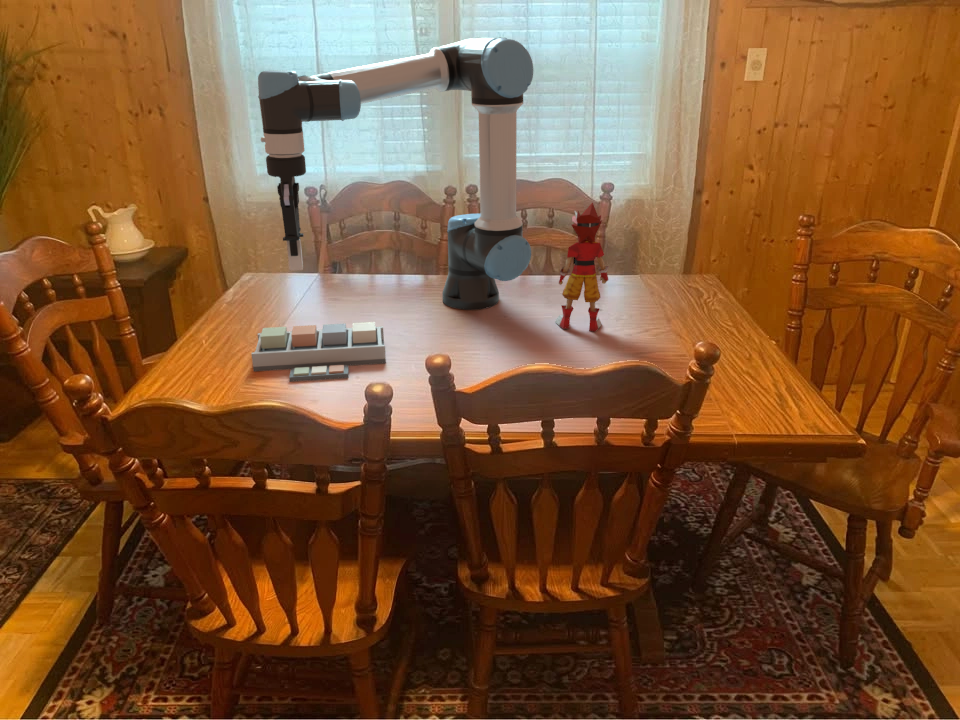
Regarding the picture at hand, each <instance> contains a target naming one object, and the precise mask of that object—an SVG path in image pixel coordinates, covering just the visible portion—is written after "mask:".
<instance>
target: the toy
mask: <svg viewBox="0 0 960 720" xmlns="http://www.w3.org/2000/svg"><path fill="white" fill-rule="evenodd" d="M573 211H574V214H575V215H572V218H571V222H572V224H571V227H572V228H573V230H574V232H575V234H576V235H577V242H574V243H573V244H571V245H570V246H568V249H567V255H566V257H567V258H566V260H565V264H564V265H563V266H562V267H561V269H560V271H559V273H560V276H559V280H558V285H560V286H562V284H563V281H564V279H565V277H566V276H567V275H568V274H569V273H570V275H569V276H568V279H567V281H566V284H565V287H564V288H563V291H562V294H561V295H562V296H563V297H564V299H566V303H565V304H566V305H561V310H562V314H559V315H558V316H557V318H556V319H555V320H554V322H555V323H556V324H557V325H558V326H559V327H560V328H561V329H563V330H567V329H568V330H569V329H570V323H571V315H572V313H573V312H574V307H573V305H572V304H573V301H578V300H579V298H580V296H581V293H582V289H583V286H584V290H583V297H584V302H585V303H589V307H588V310H587V311H588V315H589V326H588V327H589V328H588V331H589V332H594V333H596V332H597V331H598V330H599V328H600V327H601V326H602V325H603V323H602V322H601V320H600V318H599V317H598V314H599V312H600V308H599V307H598V308H597V307H596V302H598V301H599V300H600V299H601V293H600V289H599V284H598V283H599V282H598V277H597V272H596V264H595V259H596V260H597V263H598V265H599V266H598V267H597V270H598V272H599V273H600V277H599V281H601V284H606V283H607V282H608V281H609V276H608V271H609V267H610V266H609V265H605V261H604V259H603V257H604V256H605V253H604V250H603V248H602V247H603V246H602V245H601V243H600V242H597V241H596V235H597V233H598V231H599V229H600V227H601V224H602V222H603V219H602V214H600V215H598V213H597V210H596V208H595V205H594V202H591V203H590V204H589V206H588V207H587V208H586V209H585V210H584V211H583V213H582V214H580V212H579V210H577V211H576V210H573ZM601 219H602V220H601ZM572 261H573V265H574V266H573V268H572V271H571V270H570V268H571V265H572Z"/></svg>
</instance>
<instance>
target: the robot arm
mask: <svg viewBox="0 0 960 720" xmlns="http://www.w3.org/2000/svg"><path fill="white" fill-rule="evenodd" d="M532 59H533V58H532V57H531V55H530V52H529V51H528V50H527V48H526V47H525V46H524V45H523V44H522V43H521V42H519V41H517V40H515V39H511V38H507V37H502V36H501V37H480V36H479V37H478V36H477V37H469V38H465V39H463V40H460V41H456V42H453V43H449V44H445V45H440V46H435V47H432V48H431V49H430V50H429V52H428V53H425V54H420V55H415V56H409V57H403V58H399V59H393V60H388V61H383V62H377V63H371V64H367V65H362V66H361V65H360V66H355V67H350V68H345V69H340V70H334V71H330V72H326V73H320V74H314V75H305V74H304V75H298V73H297V72H296V71H295V70H287V69H286V70H285V69H284V70H283V69H282V70H278V69H277V70H274V69H273V70H270V69H269V70H263V71H260V73H259V74H258V75H257V85H258V87H257V89H258V96H257V97H258V99H259V101H258V102H259V106H260V107H259V109H260V115H261V122H262V124H261V125H262V132H263V136H262V137H260V141H261V143H264V151H265V154H268V155H267V156H266V157H265V162H266V163H265V164H266V173H267V174H268V175H269V177H273V178H277V177H278V178H279V179H280V181H279V183H278V185H277V194H278V196H279V203H280V204H279V206H280V208H281V214H282V221H283V229H284V230H283V231H284V236H282V242H284V241H285V242H286V246H287V247H286V248H287V258H288V267H289V269H288V270H289V271H303V270H304V263H303V260H304V259H303V252H302V241H301V238H304V233H303V232H301V230H302V229H301V224H300V213H299V212H300V211H299V210H300V209H299V203H300V197H299V190H300V183H299V182H296V178H295V177H301V176H304V175H305V174H306V172H307V168H306V167H307V166H306V165H307V164H306V156H304V154H303V153H304V152H305V140H304V131H303V122H305V123H306V122H307V123H308V122H322V121H323V122H324V121H325V122H326V121H327V122H328V121H341V122H344V121H345V120H354V119H356V118H358V117H359V114H360V112H361V106H362V104H366V103H372V102H376V101H381V100H387V99H390V98H391V99H392V98H395V97H400V96H401V97H402V96H405V95H409V94H416V93H421V92H424V91H430V90H437V91H438V92H439V93H442V92H448V91H466V92H467V91H468V92H471V95H470V96H471V98H470V99H471V105H472V106H473V107H474V108H475V110H477V112H478V139H479V140H478V143H479V144H478V147H479V149H478V150H479V151H478V152H479V153H478V154H479V156H478V158H479V197H480V198H479V205H480V207H479V209H480V213H467V214H458V215H454V216H452V217H450V218H449V219H448V223H447V231H446V232H447V251H448V252H447V255H448V259H447V260H448V274H447V277H446V280H445V283H444V286H443V289H442V302H443V304H444V305H446V306H448V307H449V308H453V309H458V310H467V311H468V310H469V311H470V310H471V311H473V310H475V311H477V310H483V309H488V308H491V307H494V306H496V305H497V304H498V303H499V302H500V292H499V289H498V286H497V283H496V280H498V281H501V282H510V281H513V280H515V279H517V278H518V277H520V276H521V275H522V274H523V273H524V271H526V270H527V268H528V267H529V264H530V261H531V259H532V258H531V257H532V247H531V245H530V242H529V241H528V240H527V239H526V238H525V237H524V236H523V228H524V227H523V225H524V223H523V221H522V220H521V219H520V218H519V217H518V216H517V112H518V110H519V108H520V107H522V105H523V104H524V93H525V92H527V91H528V89H529V88H528V87H529V86H531V84H532V82H533V78H534V63H533V60H532Z"/></svg>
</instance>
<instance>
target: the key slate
mask: <svg viewBox="0 0 960 720" xmlns="http://www.w3.org/2000/svg"><path fill="white" fill-rule="evenodd" d="M346 328H347V324H346V323H345V322H344V323H334V324H333V323H330V324H329V323H327V324H322V329H321V330H322V338H323V345H333V344H346V342H347V333H346Z"/></svg>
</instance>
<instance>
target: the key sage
mask: <svg viewBox="0 0 960 720" xmlns="http://www.w3.org/2000/svg"><path fill="white" fill-rule="evenodd" d="M287 332H288V329H287V326H275V327H272V326H271V327H262V330H261V332H260V333H261V336H260V338H261V346H262V349H264V348H281V347H286V343H287V339H288V338H287Z"/></svg>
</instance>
